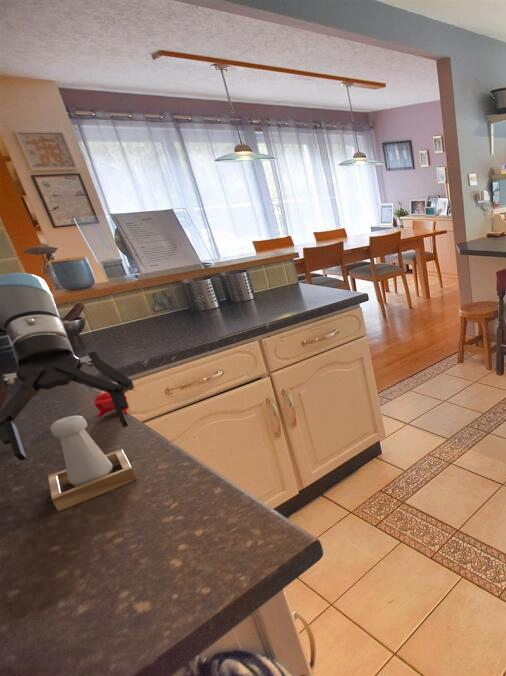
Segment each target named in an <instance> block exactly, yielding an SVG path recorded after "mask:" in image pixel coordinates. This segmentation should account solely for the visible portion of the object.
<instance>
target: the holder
mask: <svg viewBox="0 0 506 676" xmlns="http://www.w3.org/2000/svg"><path fill="white" fill-rule="evenodd" d="M104 455H105V456H106V457H107V458H108V460H109V461H110V462H111V463H112V466H113V468H114V467H117V466H120V467H121V469H119V470H116V471H114V472H112V473H111V474H109V475H106V476H104V477H101V478H98V479H96V480H93V481H91V482H88V483H86V484H83V485H80V486H78V487H75V486H74V487H73V488H70V489H68V490H64V487H65V486H68V485H71V483H70V482H69V480H68V477H67V471H66V468H65V469H63V470H60V471H56V472H55V473H52V474H49V475H47V478H48V483H49V484H48V485H49V490H50V496H51V500H52V502H53V505H54V506H55V509H56V510H57V512H59V513H60V512H61V511H63V510H66V509H68V508H71V507H73V506H76V505H78V504H81V503H83V502H86V501H88V500H90V499H93V498H95V497H98V496H100V495H103V494H105V493H108V492H110V491H113V490H115V489H118V488H120V487H123V486H125V485H128V484H130V483H132V482H135V481H137V479H138V478H137V476H136V474H135V472H134V469H133V467H132V465H131V464H130V463H131V462H129V459H128V458H127V455H126V454H125V452H124V449H123V448H120V449H118V450H115V451H113V452H109V453H107V454H104Z"/></svg>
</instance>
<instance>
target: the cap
mask: <svg viewBox="0 0 506 676" xmlns="http://www.w3.org/2000/svg"><path fill="white" fill-rule="evenodd" d="M125 397H126V400H127V402H128V396H127V394H125ZM94 406H95V408H96V409H97V410H98V412H99V413H97V415H96V416H97V418H101V417H103V416H104V415H106V414H107V413H110V412H112V411H116V409H115V406H114V404H113V401H112V398H111V396H110V393H107V392H105V391H102V392H101V393H100V394H97V395H96V397H95V399H94ZM129 409H130V406H129V407H128V408H127V409H123V410H122V411H123V414H125V413H126V412H127V411H128V410H129Z"/></svg>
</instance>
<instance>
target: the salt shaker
mask: <svg viewBox="0 0 506 676" xmlns="http://www.w3.org/2000/svg"><path fill="white" fill-rule="evenodd" d="M87 427H88V423H87V420H86V419H85V417H83V415H70V416H66V417H63V418H60V419H58V420H56V421H54V422H53V423H52V424H50V432H51V434H52V435H53V436H54V437H55V438H60V444H61V448H62V453H63V458H64V465H65V469H66V471H67V477H68V480H69V482H70V485H72V486H74V488H75V487H78V486H80V485H83V484H86V483H88V482H91V481H93V480H96V479H98V478H101V477H104V476H106V475H109V474H111V473H113V468H114V467H113V466H112V463H111V462H110V461H109V460H108V458H107V457H106V456H105V455H106V454H105V453H104V452H103V450H102V449H101V448H100V447H99V445H98V444H97V443H96V441H94V439H93V437H91V436H90V434H89V433H88V431H86V428H87Z"/></svg>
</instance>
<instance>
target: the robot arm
mask: <svg viewBox="0 0 506 676" xmlns="http://www.w3.org/2000/svg"><path fill="white" fill-rule="evenodd" d="M1 334H6V335H7V338H8V342H9V344H10V347H11V349H12V353H13V356H14V358H15V362H16V365H17V370H16V372H10V373H5V374H4V373H3V372H0V442H1V443H3V445H5V446H6V445H9V444H10V446H11V448H12V452H13V455H14V456H15V457H16V458H17V459H18V460H19V461H23V460H27V459H28V458H27V456H26V452H25V450H24V449H25V448H24V446H23V443H22V440H21V437H20V434H19V431H18V427H17V426H16V424H15V423H13V422H14V421H15V419H16V418H17V417H18V416H19V415H20V414H21V412H22V411H23V409H24V408H25V407H26V406H27V404H28V403H29V402H30V401H31V399H32V398H33V397H35V396H37V394H38V393H39V392H40V390H45V391H46V390H50V389H53V388H56V387H60V386H67V385H69V383H71V382H75V383H77V384H80V385H81V384H83V385H85V386H88V387H91V388H94V389H97V390H99V391H102V392H107V393H110V396H111V398H112V401H113V404H114V406H115V409H116V410H115V411H116V414H117V416H118V419H119V422H120V424H121V426H122V428H126V427H129V423H128V421H127V419H126V417H125V413H123V411H122V410H123V409H127V408H128V407H129V408H130V405H129V403H128V402H127V401H128V399H127V400H126V397H125V395H126V393H127V392H129V391H133V390H134V389H135V386H134V382H133V380H132V379H130V377H129V378H128V376H126V375H124V374H123V373H121V372H120V371H118V370H117V369H116V368H114V367H112V366H111V365H110V364H108V363H106V362H105V361H103V360H102V359H101V358H100V356H99V354H98V353H97V352H96V351H89V352H88V354H87V355H86V356H82V357H77V356H76V355H75V353H74V350H73V347H72V345H71V342H70V339H69V337H68V334H67V332H66V329H65V325H64V322H63V321H62V319H61V316H60V314H59V311H58V309H57V305H56V302H55V297H54V294H52V293H51V291H50V288H49V286H48V285H47V282H46V281H45V280H44V279H43V278H41V277H39V276H37V275H35V274H32V273H27V272H10V273H5V274H2V275H0V335H1ZM83 365H85V366H88V367H90V368H95V369H96V370H97V371H98V372H100V373H101V374H103V375H105V376H106V377H107V378H108V379H110V380H112V381H113V382H111V381H109V380H106V379H103V378H101V377H98V376H95V375H92V374H89V373H87V372H85V371H83V370H81V368H82V366H83ZM16 381H21V382H22V383H21V384H20V385H19V389H18V390H17V391H16V392H15V394H14V395H13V396H12V397H11V398H10V399H9V400H8V402H7V403H6V404H5V406H4V407H3V405H4V402H5V400H6V398H7V396H8V394H9V391H10V388H11V387H13V386H14V384H15V382H16ZM114 382H115V383H114ZM2 407H3V408H2Z"/></svg>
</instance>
